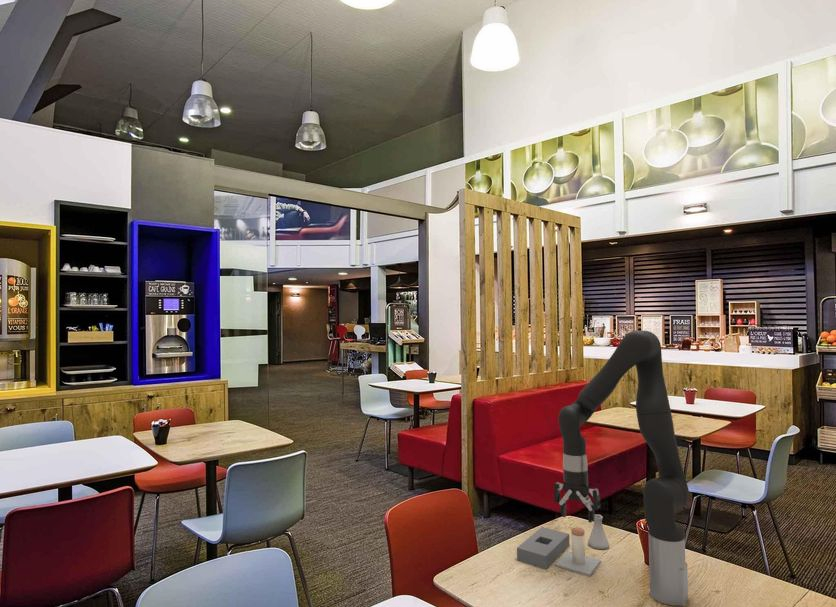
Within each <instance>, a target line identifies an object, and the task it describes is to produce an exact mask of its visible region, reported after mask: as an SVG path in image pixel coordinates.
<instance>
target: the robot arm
mask: <svg viewBox="0 0 836 607" xmlns="http://www.w3.org/2000/svg"><path fill="white" fill-rule="evenodd" d="M633 367H635V368H636V372H637V373H636V374H637V390H636V399H635V411H636V412H635V413H636V418H637V424H638V428H639V432H640V434H641V436H642V438H643V439H644V441H645V442H646V444H647V445H648V446H649V448H650V450H651V451H652V453H653V455H654V457H655V459H656V460H655V461H656V464H657V470H658V477H655V478H651V479H649V480H648V481H646V483H645V484H644V487H643V496H642V497H643V511H644V512H643V513H644V519H645V523H646V525H647V529H648V562H649V563H648V564H649V565H648V566H649V568H648V570H649V571H648V572H649V594H650V597H651V598H653V599H654V600H655V601H657V602H659V603H662V604H664V605H669V606H681V607H685V606H686V604H687V601H688V598H689V588H688V587H689V584H688V583H689V581H688V578H689V577H688V563H687V562H686V539H685V538H686V537H685V534H686V533H685V528H684V526H683V525H682V524H681V523H680V522H677V521H676V518H675V511H677V510H680V509H683V508H685V507H686V506H687V505H688V503H689V502H690V490H689V486H688V482H687V479H686V475H685V472H684V469H683V466H682V462H681V458H680V452H679V449H678V444H677V438H676V434H675V427H674V421H673V416H672V415H673V414H672V410H671V407H670V402H669V396H668V391H667V386H666V382H665V377H664V371H663V357H662V346H661V342H660V339H659V338H658V336H657V335H656V334H655V333H654V332H651V331H648V330H641V329H640V330H631V331H629V332H628V333H626V334H624V336H623V337H622V339H621V341H620V342H619V344H618V346H616V349H615V350H614V351H613V353H612V354H611V356H610V357H609V358H608V360H607V361H606V363H605V364H604V365H603V366H602V368H600V370H599V371H598V372H597V373H596V374H595V375H594V376H593V377H592V379H591V380H590V381H589V382H588V383H587V384H586V385H585V386H584V387H583V388H582V389H581V390H580V392H579V393H578V397H577V398H576V400H575V401H574V402H573V403H571V404H569V405H567V406H563V407H562V408H561V409H560V411H559V413H558V417H557V418H558V426H559V431H560V434H561V437H562V447H563V448H562V451H563V452H562V453H563V456H562V470H563V473H562V474H563V483H561V482H559V481H557V482H555V483H554V485H553V502H554V503H557V504H559V510H560V511H559V512H560V515H561V517H562V518H566V517H567V503H566V502H567V501H568V500H569V499H570V501H577V502H582V504H584V506H585V507H586V508H587V510H588V511H587V515H588V516H587V517H588V519H587V520H588V521H587V522H588V523H592V522H594V519H595V515H596V514H595V511H598V510H599V509H600V508H601V499H600V490H599V488H597V487H596V488H590V487H589V474H588V473H589V471H588V469H589V468H588V467H589V466H588V459H587V443H586V442H587V441H586V438H585V436H584V435H582V433H581V429H580V428H581V426H582V425H584V424H585V423H587V421H588V420H590V418H592V415H593V414H594V412H595V411H596V410H597V409H598V408H599V407H600V406H601V405H602V404H603V403H604V402H605V401H606V400H607V399H608V398H609V396H611V394H612V393H613V392H614V390H615V389H616V387H617V386H618V384H619V382H620V381H621V379H622V377H624V376H625V375H626V374H627V372H628V371H630V370H631V369H632V368H633ZM561 490H563V491H564V493H565V494H564V496H563V497H562V498H561ZM589 494H590V495H591V496H592V499H593V502H592V500H591V498H590V496H589Z"/></svg>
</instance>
